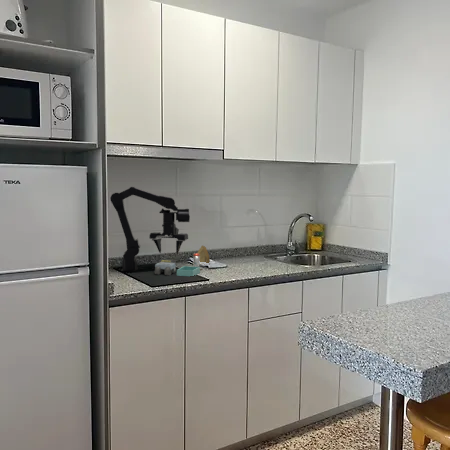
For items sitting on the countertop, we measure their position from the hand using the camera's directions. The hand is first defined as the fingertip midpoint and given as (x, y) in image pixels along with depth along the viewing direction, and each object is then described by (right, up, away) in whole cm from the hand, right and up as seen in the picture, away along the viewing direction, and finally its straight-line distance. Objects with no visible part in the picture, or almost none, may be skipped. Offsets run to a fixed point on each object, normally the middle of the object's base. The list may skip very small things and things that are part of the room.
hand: (168, 253), depth 227 cm
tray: (+11, -10, -10) cm, 18 cm away
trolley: (0, -9, -9) cm, 13 cm away
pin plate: (+14, -9, +2) cm, 16 cm away
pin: (+14, -8, +2) cm, 16 cm away
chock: (0, -9, +1) cm, 9 cm away
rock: (+15, -7, +20) cm, 26 cm away
